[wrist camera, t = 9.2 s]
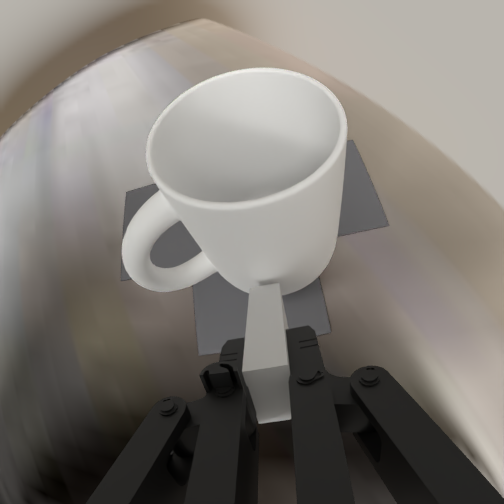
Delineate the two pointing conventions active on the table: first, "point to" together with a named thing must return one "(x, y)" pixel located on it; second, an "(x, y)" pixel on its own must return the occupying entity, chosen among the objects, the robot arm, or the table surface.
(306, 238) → the mug
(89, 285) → the table surface
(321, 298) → the t mat
